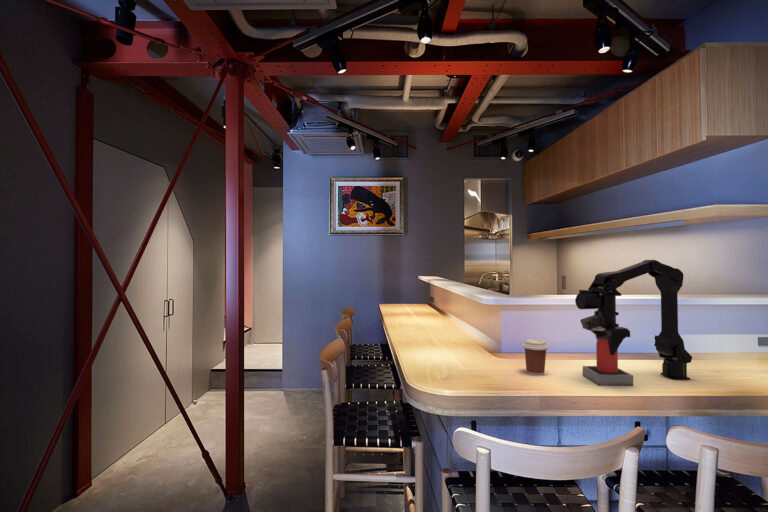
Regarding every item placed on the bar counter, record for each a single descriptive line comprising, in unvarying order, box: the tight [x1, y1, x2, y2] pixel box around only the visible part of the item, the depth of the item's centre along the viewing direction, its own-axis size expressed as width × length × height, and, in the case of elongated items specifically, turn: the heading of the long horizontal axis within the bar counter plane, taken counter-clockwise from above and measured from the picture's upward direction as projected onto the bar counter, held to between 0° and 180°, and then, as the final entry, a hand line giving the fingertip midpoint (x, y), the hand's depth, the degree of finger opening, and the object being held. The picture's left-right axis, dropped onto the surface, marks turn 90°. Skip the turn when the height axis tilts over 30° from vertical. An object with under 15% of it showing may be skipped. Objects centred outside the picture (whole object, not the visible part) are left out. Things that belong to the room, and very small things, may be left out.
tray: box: [582, 365, 634, 387], centre depth 140 cm, size 12×12×4 cm
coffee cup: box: [522, 338, 549, 376], centre depth 150 cm, size 9×9×12 cm
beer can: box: [595, 337, 619, 374], centre depth 140 cm, size 7×7×12 cm
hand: (607, 352), depth 140 cm, fingers closed on beer can, 6 cm apart
